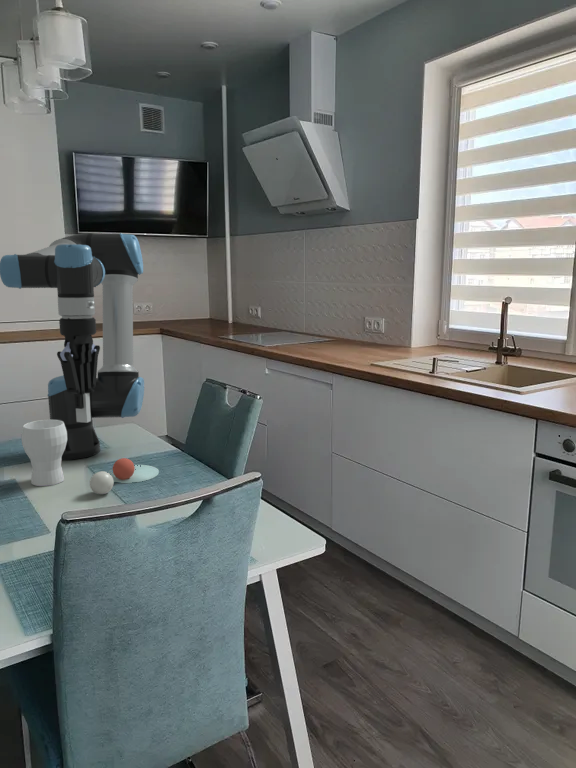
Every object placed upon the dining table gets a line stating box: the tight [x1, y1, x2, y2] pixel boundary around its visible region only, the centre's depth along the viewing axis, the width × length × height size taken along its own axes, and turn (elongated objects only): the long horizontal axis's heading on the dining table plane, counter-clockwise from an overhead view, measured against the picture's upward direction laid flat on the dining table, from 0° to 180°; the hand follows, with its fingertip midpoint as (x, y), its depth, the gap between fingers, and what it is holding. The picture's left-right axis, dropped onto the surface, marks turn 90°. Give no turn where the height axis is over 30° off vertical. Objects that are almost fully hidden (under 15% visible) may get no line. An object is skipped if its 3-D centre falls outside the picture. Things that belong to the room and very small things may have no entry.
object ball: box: [112, 457, 135, 480], centre depth 150 cm, size 6×6×6 cm
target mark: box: [107, 464, 160, 484], centre depth 155 cm, size 14×14×1 cm
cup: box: [20, 419, 67, 487], centre depth 148 cm, size 11×11×15 cm
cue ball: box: [89, 470, 114, 495], centre depth 140 cm, size 6×6×6 cm
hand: (83, 421), depth 132 cm, fingers closed
